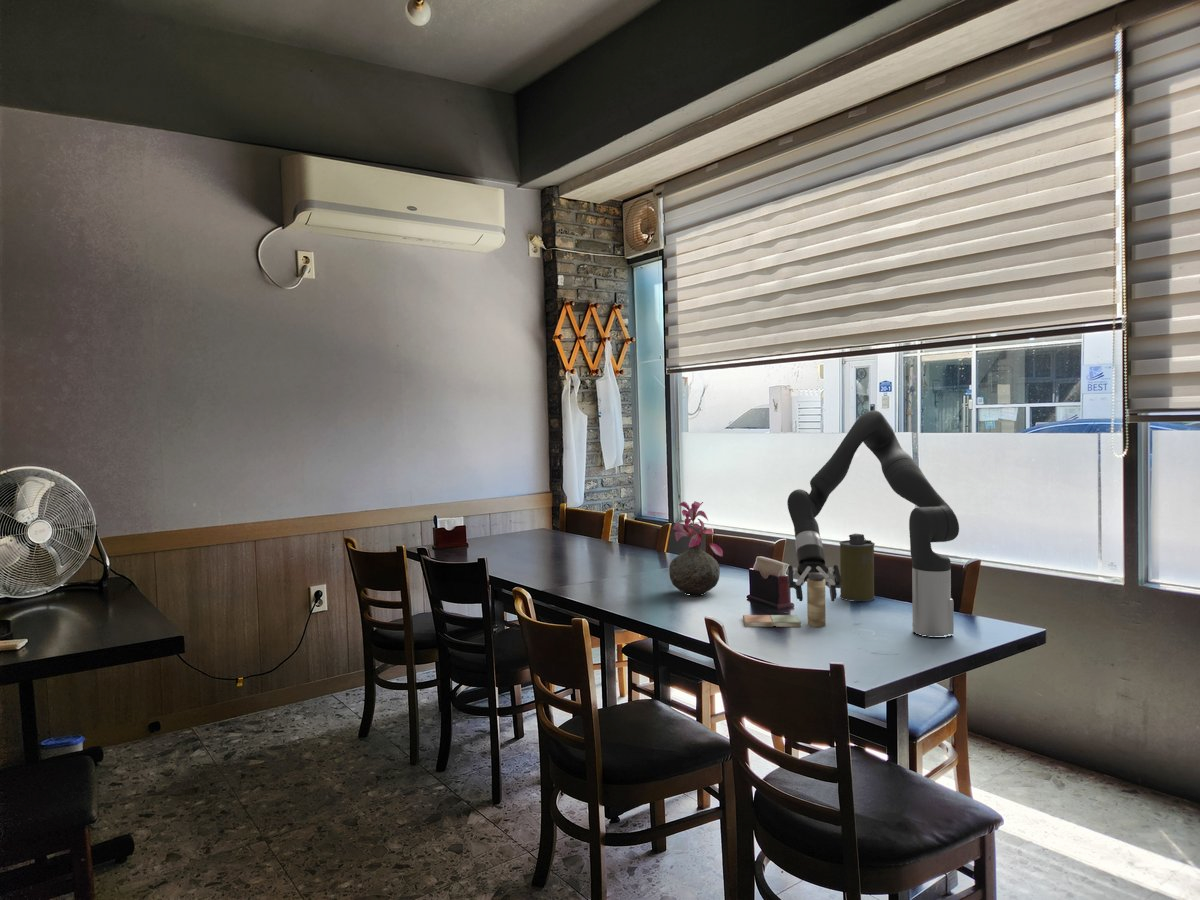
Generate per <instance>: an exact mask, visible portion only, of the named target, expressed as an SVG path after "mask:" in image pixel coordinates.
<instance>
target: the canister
mask: <svg viewBox="0 0 1200 900" xmlns="http://www.w3.org/2000/svg"><path fill="white" fill-rule="evenodd" d="M848 537H849V539H848V540H841V541H839V553H840V554H839V558H840V560H839V561H840V563H839V564H840V565H839V568H840V569H839V573H840V577H841V581H842V582H841V586H840V588H839V589H840V593H839V598H840V597H841V598H840V599H842V598H843V599H842V600H844V599H847V600H854V601H853V602H856V601H866V602H871V601H870V600H872V601H874V600H875V599H874V597H875V542H873V541H872V540H869V539H866V538H865V534H862V533H861V534H860V533H852V534H849V535H848ZM873 599H874V600H873ZM847 600H846V601H847Z"/></svg>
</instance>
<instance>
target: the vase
mask: <svg viewBox="0 0 1200 900" xmlns="http://www.w3.org/2000/svg"><path fill="white" fill-rule="evenodd" d="M703 503H704V502H703V501H702V502H699V501H693V503H691V507H690V505H689V504H688V503H687V502H686V501H682V502H680V503H679V504H678V506H680V507H681V506H682V507H684V508H685V509H682V511H681V513H682V516H683V517H685V518H684V525H683V524H682V523H681V522H680V521H676V522H675V523H674V526H673V527H672V530H674V537H675V540H676V542H679V540H680V539H681V538H683V537H687V538H688V537H689V538H690V540H689V543H688V546H687V547H688V548H689V549H688V550H686V551H684V552H682V553H680V554H678V555H676V557H674V558H673V559H672V560H671V562H670V563H669V568H668V571H669V572H668V574H669V579H670V582H671V583H672V585H673V586H674V587H675V588H676V589H677V590H679V591H681V592H683V593H686V594H690V595H701V594H704V593H705V594H706V593H707V592H709V591H711V590H712V589H713V588H715V587H716V586H717V584H718V582H719V580H720V573H721V572H720V564H719V562H718V561H717V560H716V559H715V558H714V557H713V556H712V555H710V554H709V553H707V552H706V551H704V550H703V548H702V541H703V536H702V535H708V534H709V535H712V536H714V537H716V534H715V533H714V532H713V530H712V529H706V530H704V529H705V523H704V521H702V520H701V519H700V518H698V516H700V517H702V518H705V519H706V520H707V521H709V519H708V516H707V514H706V512H705V511H704V510H699V508H700V507H701V506H702V505H703ZM696 519H697V520H698V522H699V523H700V524H698V523H697V522H696V523H695V520H696ZM691 521H692V522H691ZM696 529H699V532H700V533H698V531H696ZM675 531H676V532H675ZM708 544H709V547H710V549H711V550H712V551H713V553H714V554H715V555H717V556H719V557H724V551H723V549H722V548H721V547H720V546H719V545H718V544H716V543H714V542H708Z"/></svg>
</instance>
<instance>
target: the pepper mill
mask: <svg viewBox="0 0 1200 900" xmlns="http://www.w3.org/2000/svg"><path fill="white" fill-rule="evenodd" d="M806 594H807V595H806V597H807V599H806V601H807V602H806V605H807V615H806V616H807V626H809V627H812V628H823V627H826V626H827V625H826V624H827V623H826V622H827V621H826V585H825V579H824V574H823V573H820V572H811V573H809V578H808V579H807V581H806Z"/></svg>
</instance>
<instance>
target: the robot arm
mask: <svg viewBox="0 0 1200 900" xmlns="http://www.w3.org/2000/svg"><path fill="white" fill-rule="evenodd" d="M862 443H864V445H865V447H867V448H868V449H869V450H870V451H871V452H872V453H873V455H874V456H875V457H876V458H877V460H878V461H879V462H880V465H881V472H882V474H883V476H884V478H885V480H886V481H887V482H886V483H888V485H889V486H890V488H891V490H893V492H894V493H896V494H897V495H898V496H899V497H901V498H903V499H904V500H906V501H908V502H909V503H912V504H913V505H915V506H916V507H915V508H913V509H912V511H911V512H910V515H909V519H908V529H909V544H910V545H909V546H910V557H911V562H912V563H911V565H912V566H911V567H912V570H911V571H912V573H911V574H912V576H911V577H912V578H911V579H912V583H911V584H912V585H911V586H912V587H911V588H912V589H911V590H912V591H911V592H912V593H911V594H912V595H911V596H912V597H911V598H912V603H911V604H912V608H911V609H912V613H911V614H912V617H911V618H912V625H911V626H912V633H913V632H915V633H917V634H921V635H926V636H944V635H948V634H954V632H955V631H954V628H955V627H954V622H955V621H954V613H955V612H954V609H955V608H954V599H953V598H952V595H951V594H952V593H951V591H952V589H951V588H952V584H951V583H952V582H951V581H952V578H951V577H952V574H951V573H952V572H951V570H952V568H951V567H952V566H951V565H952V564H951V563H952V562H951V559H950V558H949V557H948V556H946V555H942V554H939V553H937V552H935V551H934V550H933V548H932V543H947V542H951V541H954V540H955V539H957V537H958V535H959V533H960V525H959V520H958V518H957V516H956V514H955V512H954V510H953V509H952V508H951V506H950V505H949V504H948V503H947V502H946V500H944V499H943V497H942V496H940V494H939V492H937V490H936V489H934V487H933V486H932V484H931V483H930V482H929V480H928V479H927V478H926V476H925V475H924V473H923V472H922V471H923V470H921V467H919V465H918V464H917V462H916V461H915V460H914V459H913V458H912V456H911V455H910V454H909V453H908V452H906V451H905V450H904V449H903V448H902V446H901V444H900V442H899V440H898V438H897V436H896V434H895V431H894V429H893V427H892V426H891V424H890V423H889V421H888V420H887V418H886V417H885V415H884V414H883V413H882V412H881V411H878V410H869V411H866V412H864V413H863V414H862V415H860V416H859V417H858V418H857V419H856V421H855V422H854V423H853V425H852V426H851V428H850V429H849V431H848V432H847V434H846V435H845V437H844V438H843V439H842V441H841V443H840V444H839V445H838V447H837V449H835V451H834V453H833V454H832V455H831V457H830V458H829V459H828V460H827V462H826V463H824V465H823V466H822V467H821V468H819V470H818V471H817V472H816V473H815V475H814V476H812V478H811V480H810V481H809V484H810V488H811V489H810V492H807V491H806V490H804V489H801V488H800V489H799V488H798V489H794V490H793V491H792V492H791V493H790V494H789V495H788V498H787V509H788V510H787V511H788V513H789V516H790V520H791V521H792V525H793V530H794V537H795V539H794V540H795V541H794V542H795V544H794V545H795V552H796V558H797V567H793V566H792V565H790V564H789V565H788V566H787V570H786V571H787V587H788V589H795V595H796V599H797V600H799V602H803V599H804V597H803V595H804V594H803V589H802V586H804V584H805V583H807V579H808V578H809V573H811V572H820V573H823V574H824V579H825V587H826V586H827V588H828V589H829V595H830V601H831V602H835V600H836V599H837V597H838V594H837V589H840V586H841V582H842V581H841V577H840V569H839V566H838V565H836V564H834V565H833V566H832V567H830V566H829V567H828V566H827V564H826V559H825V554H824V552H825V551H824V545H823V542H822V538H821V535H820V528H819V524H818V521H817V520H816V517H817V516H818V515H819V514H820V512H821V511H822V510H823V507H824V506H825V504H826V502H827V500H828V498H829V496H830V495H831V493H833V491H834V490H835V489H836V488H837V487H838V486H839V485H840V484H841V483H842V482H843V480H844V479H845V477H846V476H847V475H848V472H849V470H850V467H851V465H852V461H853V459H854V456H855V454H856V452H857V450H858V449H859V447H860V446H861V445H862ZM796 573H797V574H798V575H799V578H798V579H797V581H794V576H795V575H796ZM828 573H830V575H831V576H833V579H834V580H833V579H832V578H831V577H830V575H829V574H828ZM954 635H955V634H954Z"/></svg>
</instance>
